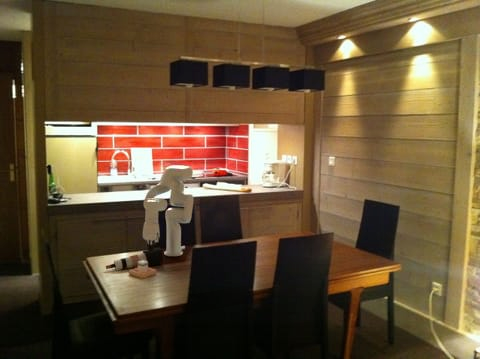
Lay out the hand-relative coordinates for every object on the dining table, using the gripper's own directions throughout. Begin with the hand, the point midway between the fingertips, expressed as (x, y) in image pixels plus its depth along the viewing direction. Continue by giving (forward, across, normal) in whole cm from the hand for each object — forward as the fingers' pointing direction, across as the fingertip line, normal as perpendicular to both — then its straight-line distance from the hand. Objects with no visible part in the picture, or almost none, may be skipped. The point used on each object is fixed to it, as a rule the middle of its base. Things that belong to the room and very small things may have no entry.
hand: (151, 250), depth 271 cm
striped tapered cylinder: (+12, -10, -4) cm, 16 cm away
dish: (+12, +3, -9) cm, 15 cm away
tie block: (+11, +2, -9) cm, 15 cm away
